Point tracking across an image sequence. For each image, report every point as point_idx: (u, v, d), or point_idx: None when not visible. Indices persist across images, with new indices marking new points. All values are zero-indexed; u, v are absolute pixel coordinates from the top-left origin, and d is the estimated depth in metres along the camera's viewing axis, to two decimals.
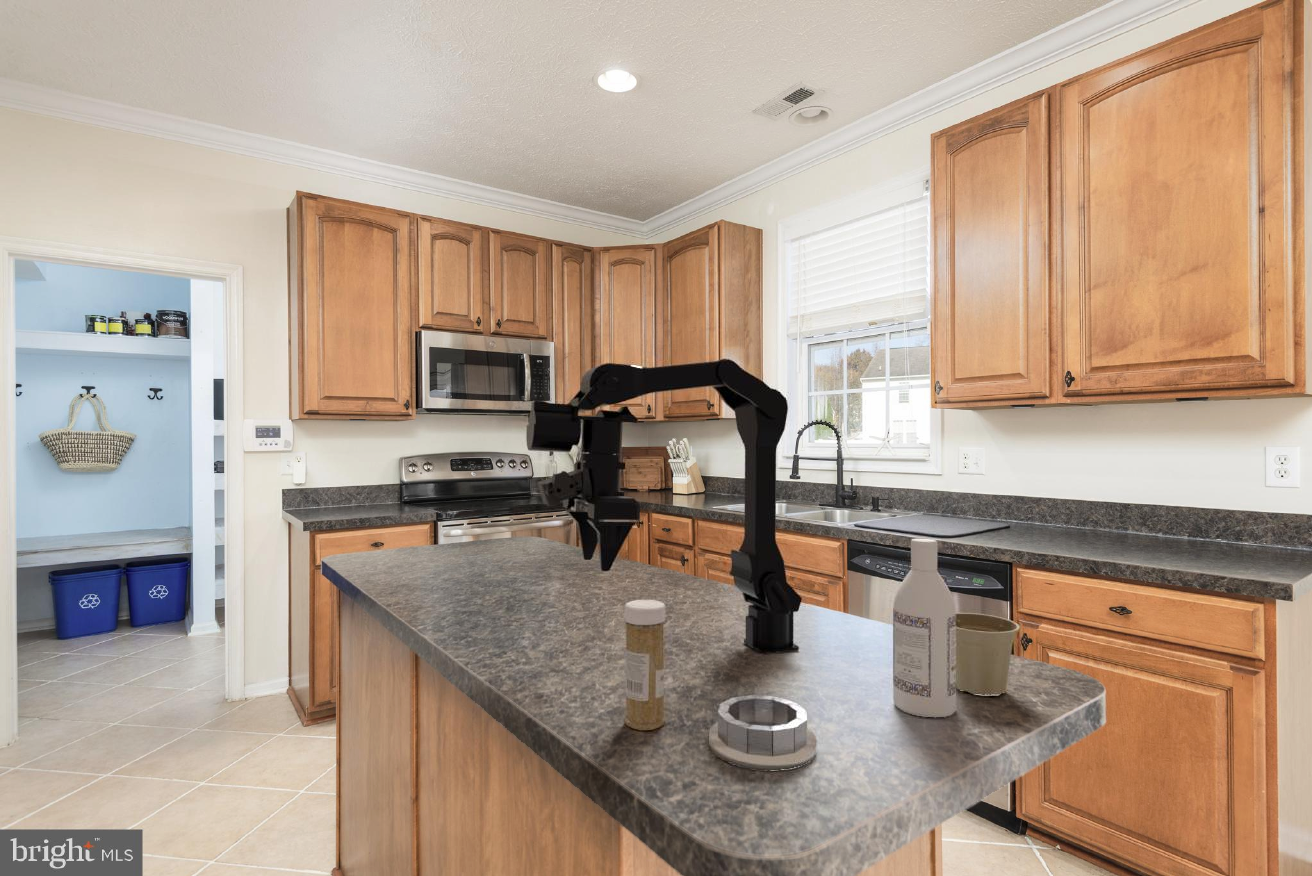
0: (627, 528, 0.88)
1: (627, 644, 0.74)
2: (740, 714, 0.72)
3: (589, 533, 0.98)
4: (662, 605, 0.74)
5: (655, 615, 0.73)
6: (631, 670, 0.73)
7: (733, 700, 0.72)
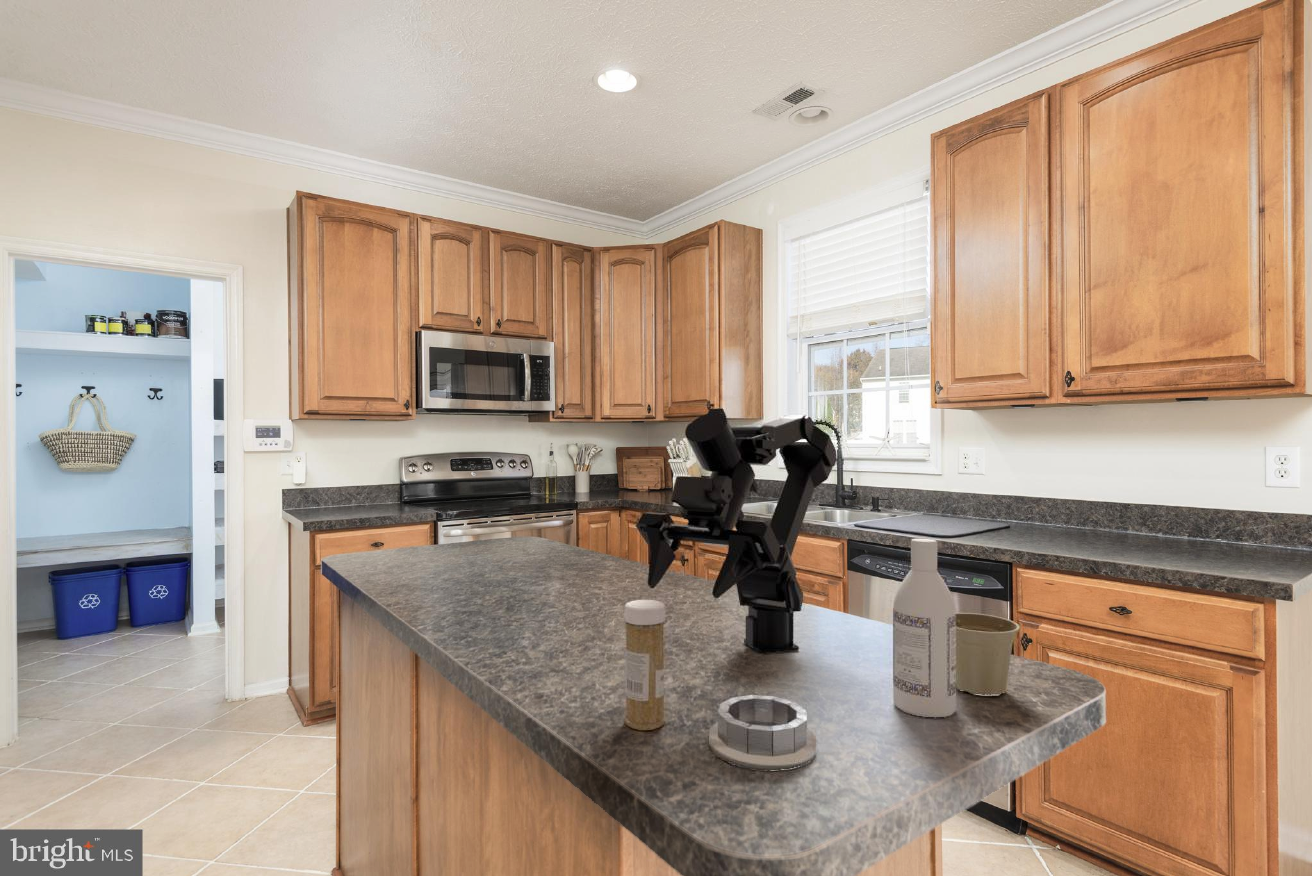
0: (750, 568, 0.82)
1: (627, 644, 0.74)
2: (740, 714, 0.72)
3: (661, 562, 0.86)
4: (662, 605, 0.74)
5: (655, 615, 0.73)
6: (631, 670, 0.73)
7: (733, 700, 0.72)
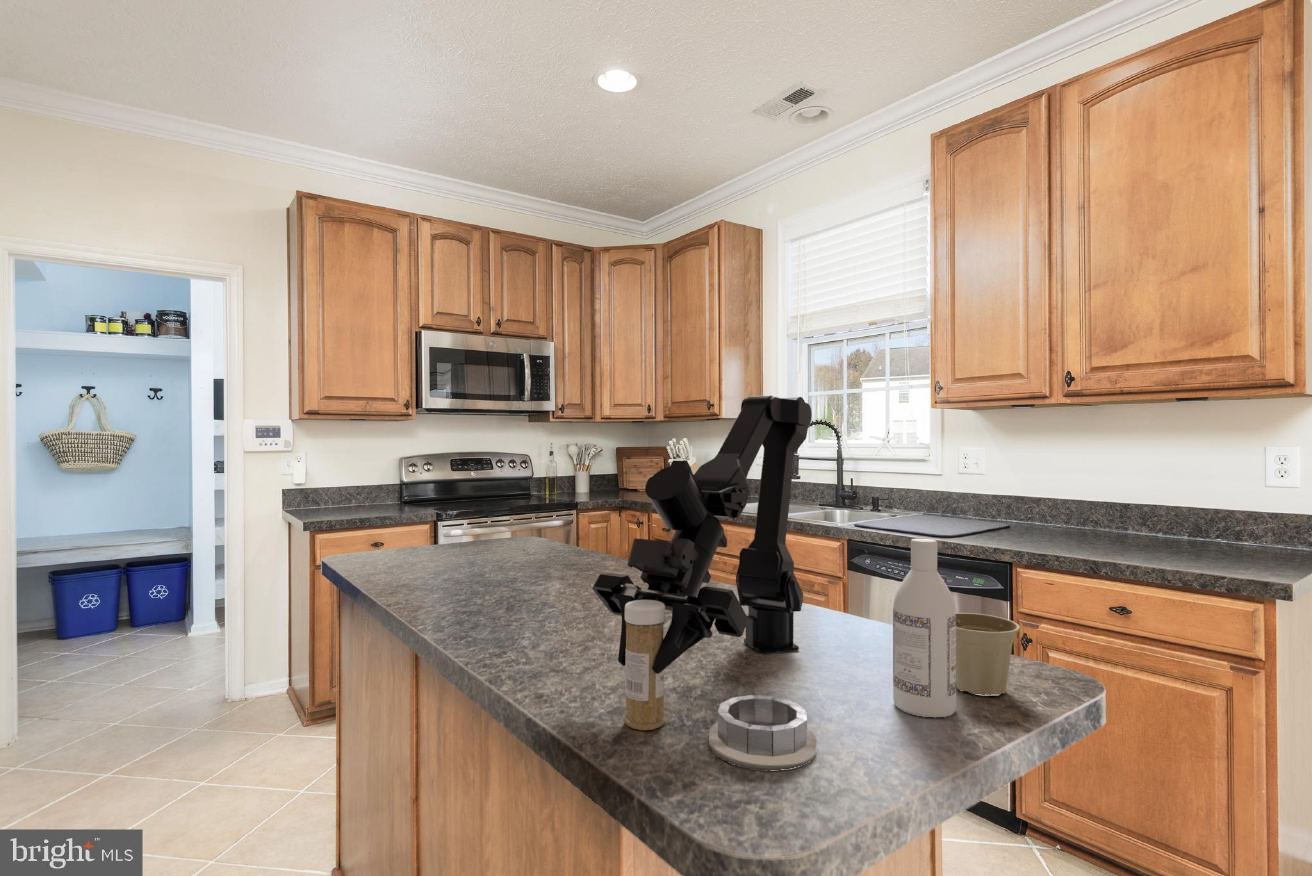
0: (697, 637, 0.76)
1: (627, 644, 0.74)
2: (740, 714, 0.72)
3: None
4: (662, 605, 0.74)
5: (655, 615, 0.73)
6: (631, 670, 0.73)
7: (733, 700, 0.72)
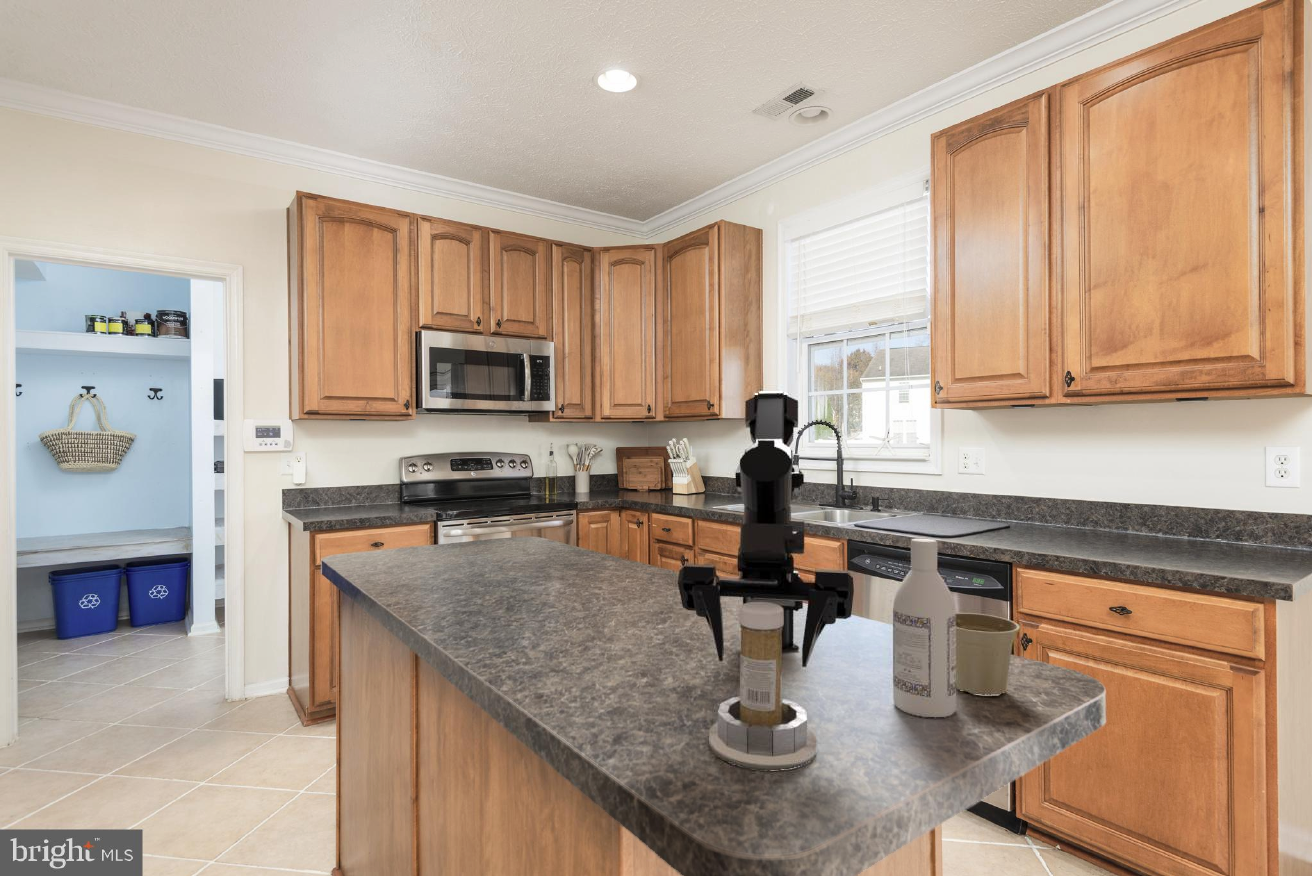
0: (821, 625, 0.72)
1: (748, 652, 0.68)
2: (740, 714, 0.72)
3: None
4: (780, 606, 0.69)
5: (781, 617, 0.68)
6: (757, 679, 0.67)
7: (733, 700, 0.72)
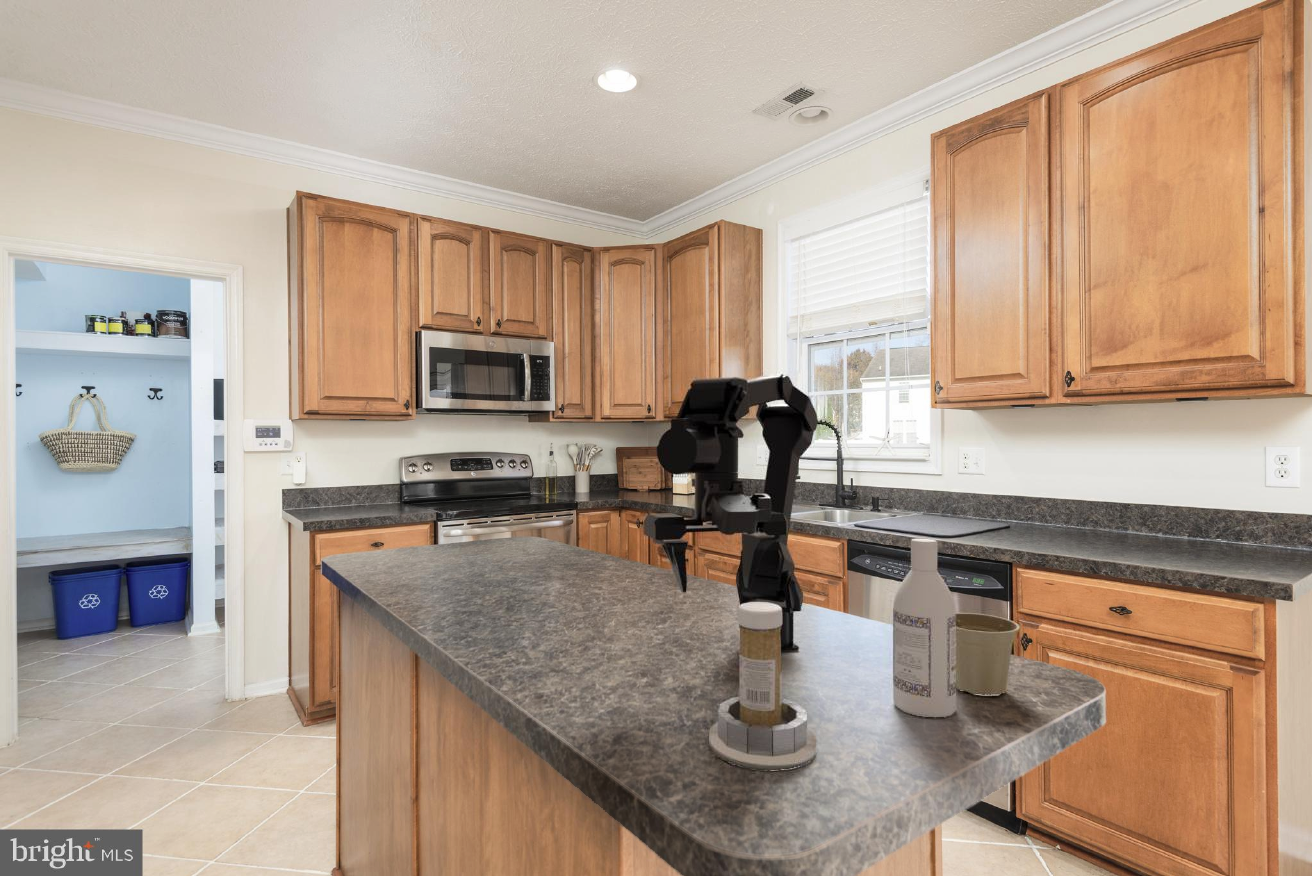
0: None
1: (747, 652, 0.68)
2: None
3: None
4: (779, 606, 0.70)
5: (779, 617, 0.68)
6: (756, 679, 0.67)
7: (733, 700, 0.72)
